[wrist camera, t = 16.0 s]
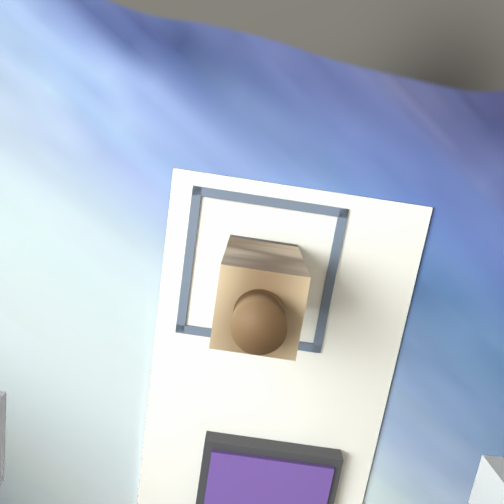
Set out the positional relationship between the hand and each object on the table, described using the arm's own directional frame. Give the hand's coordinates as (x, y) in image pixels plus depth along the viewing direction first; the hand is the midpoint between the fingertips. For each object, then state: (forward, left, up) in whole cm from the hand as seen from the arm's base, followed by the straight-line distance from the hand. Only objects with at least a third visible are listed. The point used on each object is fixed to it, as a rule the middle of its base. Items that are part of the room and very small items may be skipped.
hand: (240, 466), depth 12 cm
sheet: (+2, -6, -19) cm, 20 cm away
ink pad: (+3, -15, -19) cm, 24 cm away
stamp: (0, +1, -19) cm, 19 cm away
